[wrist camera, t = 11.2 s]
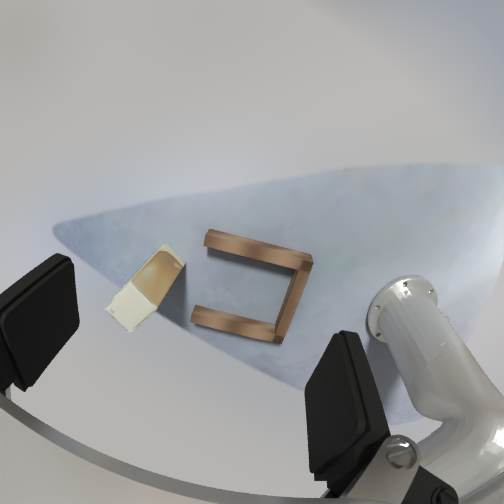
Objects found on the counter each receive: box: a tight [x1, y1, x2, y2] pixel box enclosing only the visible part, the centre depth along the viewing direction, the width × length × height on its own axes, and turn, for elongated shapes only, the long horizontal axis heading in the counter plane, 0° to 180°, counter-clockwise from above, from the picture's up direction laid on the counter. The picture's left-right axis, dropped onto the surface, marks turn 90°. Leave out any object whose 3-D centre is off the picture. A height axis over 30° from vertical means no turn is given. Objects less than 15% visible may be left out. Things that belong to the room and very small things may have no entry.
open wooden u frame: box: [190, 229, 313, 344], centre depth 39 cm, size 14×14×2 cm
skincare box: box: [105, 243, 186, 332], centre depth 35 cm, size 6×4×12 cm
